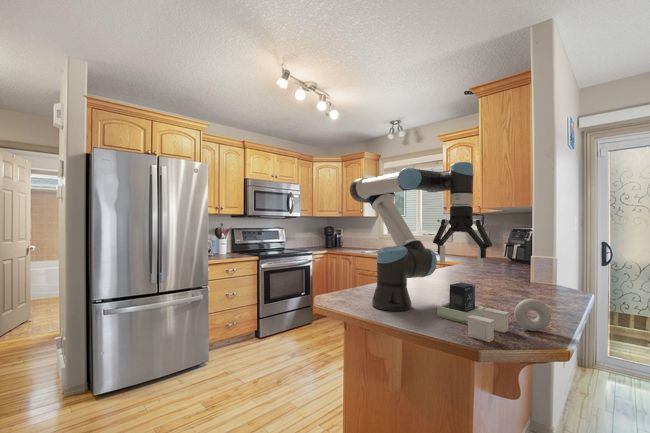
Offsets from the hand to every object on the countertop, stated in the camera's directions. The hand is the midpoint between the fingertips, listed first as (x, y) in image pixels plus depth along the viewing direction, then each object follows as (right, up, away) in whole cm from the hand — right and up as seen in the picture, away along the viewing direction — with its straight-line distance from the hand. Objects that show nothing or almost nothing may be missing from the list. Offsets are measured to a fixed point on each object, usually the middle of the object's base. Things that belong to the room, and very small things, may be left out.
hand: (460, 265), depth 110 cm
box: (0, -17, -1) cm, 17 cm away
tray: (0, -18, -1) cm, 18 cm away
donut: (+16, -18, -14) cm, 28 cm away
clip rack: (+1, -18, -17) cm, 25 cm away
